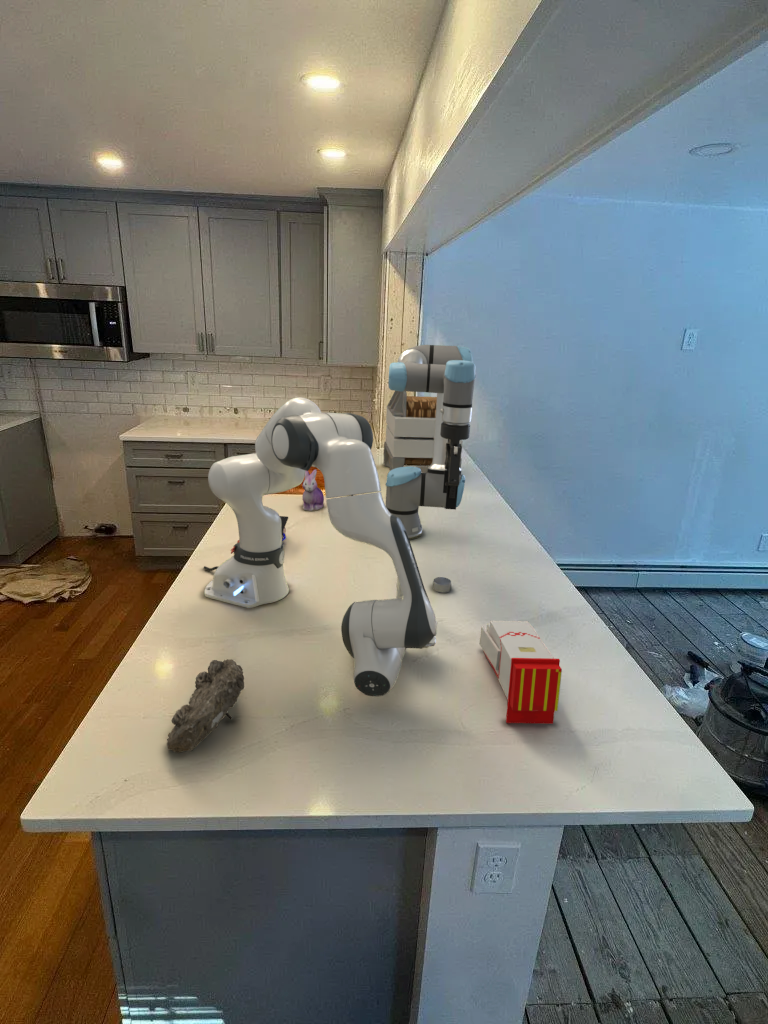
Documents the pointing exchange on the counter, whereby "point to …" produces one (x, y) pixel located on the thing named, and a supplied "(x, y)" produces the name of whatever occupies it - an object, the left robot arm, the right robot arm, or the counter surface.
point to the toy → (523, 670)
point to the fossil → (206, 705)
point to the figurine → (312, 492)
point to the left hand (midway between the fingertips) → (397, 610)
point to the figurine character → (283, 526)
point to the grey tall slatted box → (410, 431)
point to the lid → (442, 584)
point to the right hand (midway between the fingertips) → (449, 500)
